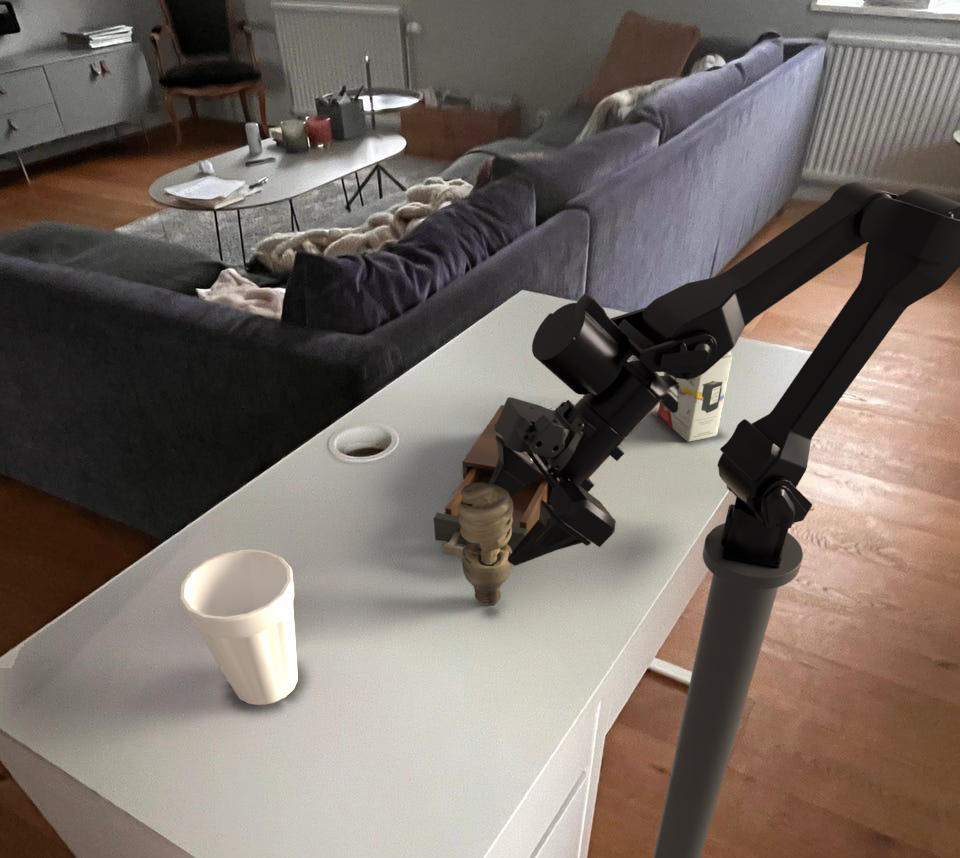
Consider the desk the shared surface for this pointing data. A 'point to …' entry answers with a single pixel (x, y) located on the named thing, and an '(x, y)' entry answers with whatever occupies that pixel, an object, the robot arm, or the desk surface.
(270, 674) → the cup
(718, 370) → the ink box
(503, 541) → the light bulb
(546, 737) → the desk surface
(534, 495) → the drawer
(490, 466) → the cabinet
